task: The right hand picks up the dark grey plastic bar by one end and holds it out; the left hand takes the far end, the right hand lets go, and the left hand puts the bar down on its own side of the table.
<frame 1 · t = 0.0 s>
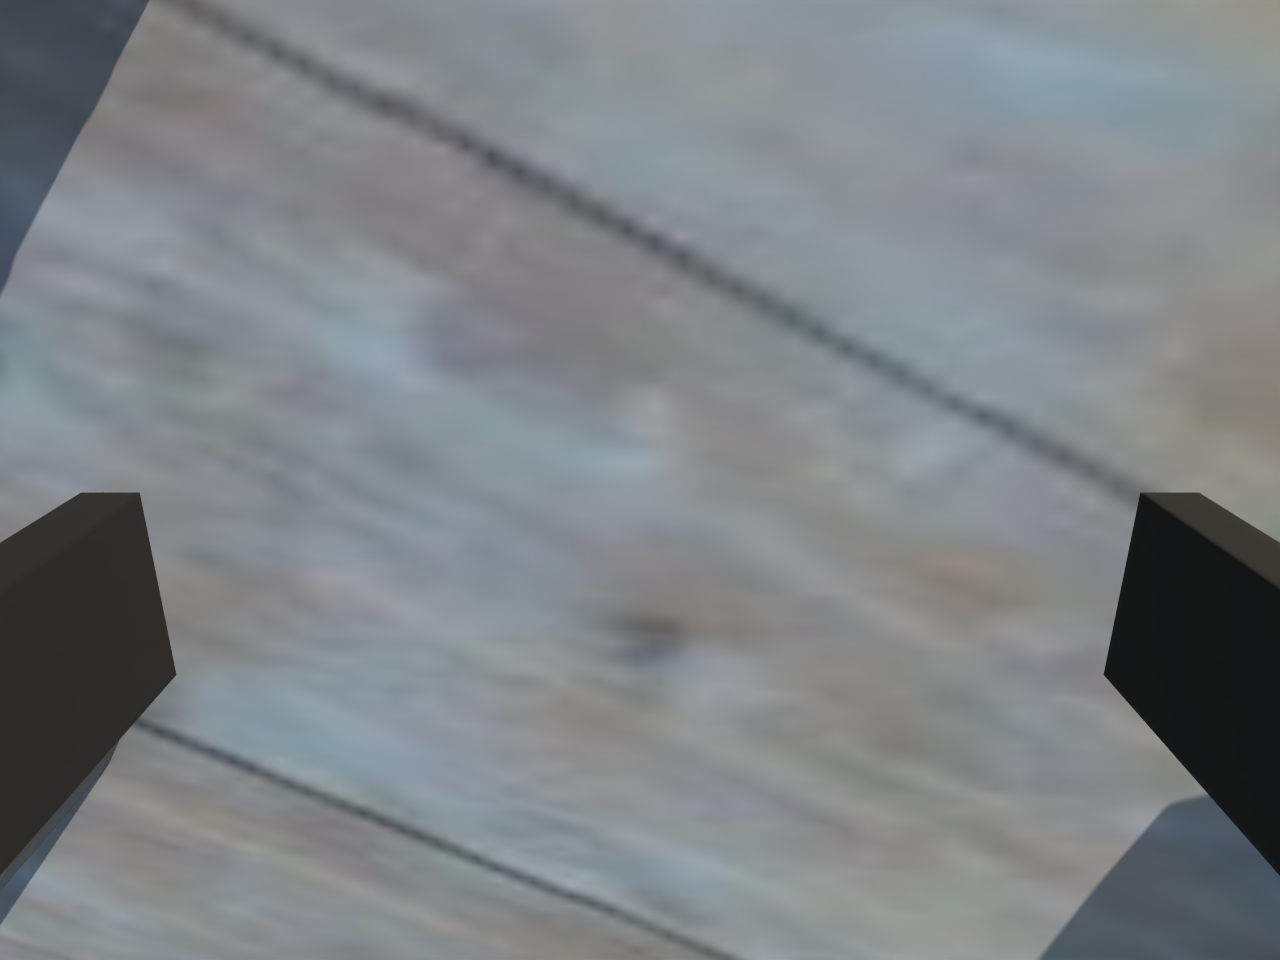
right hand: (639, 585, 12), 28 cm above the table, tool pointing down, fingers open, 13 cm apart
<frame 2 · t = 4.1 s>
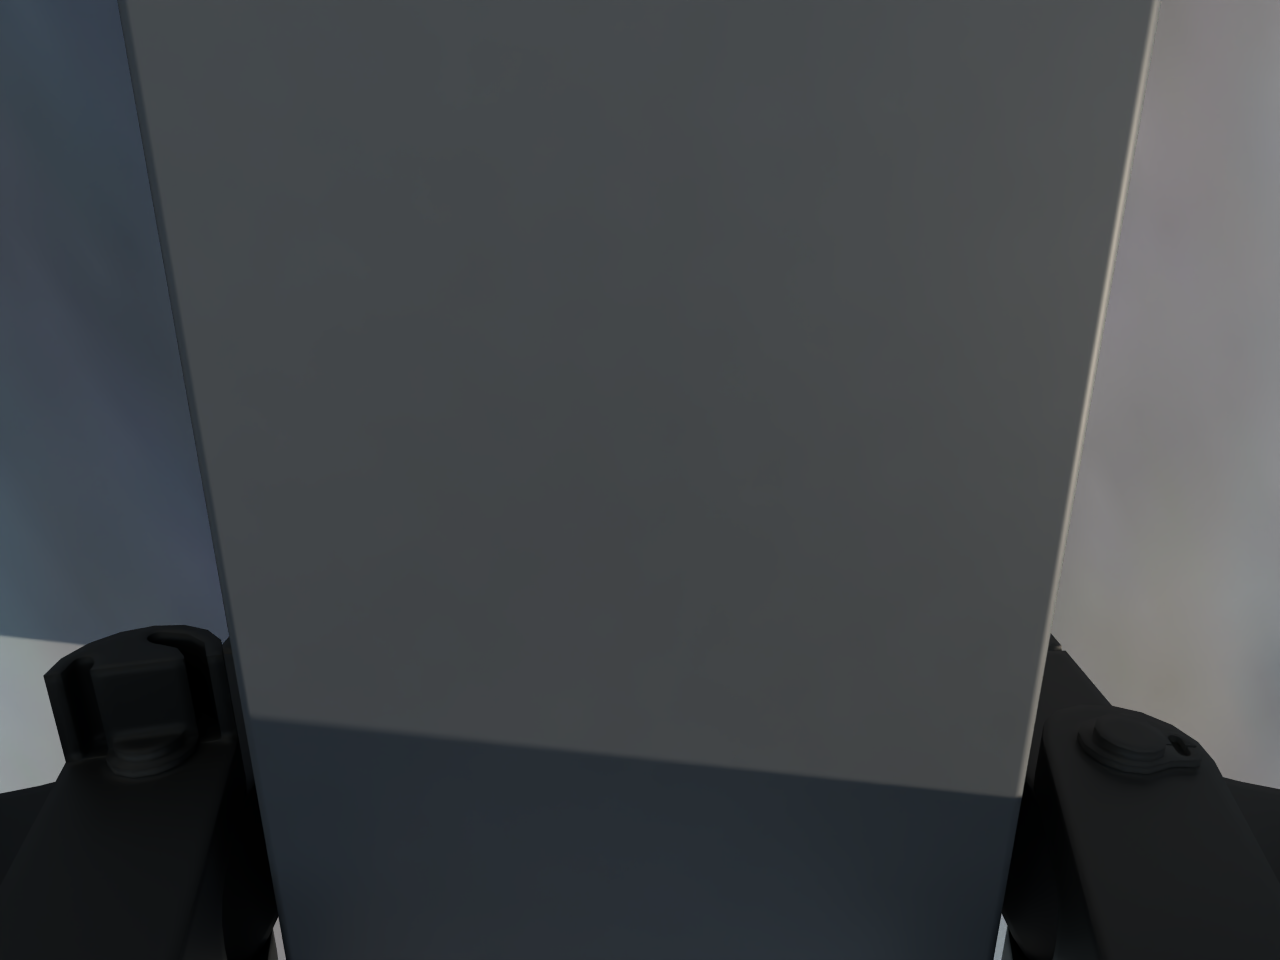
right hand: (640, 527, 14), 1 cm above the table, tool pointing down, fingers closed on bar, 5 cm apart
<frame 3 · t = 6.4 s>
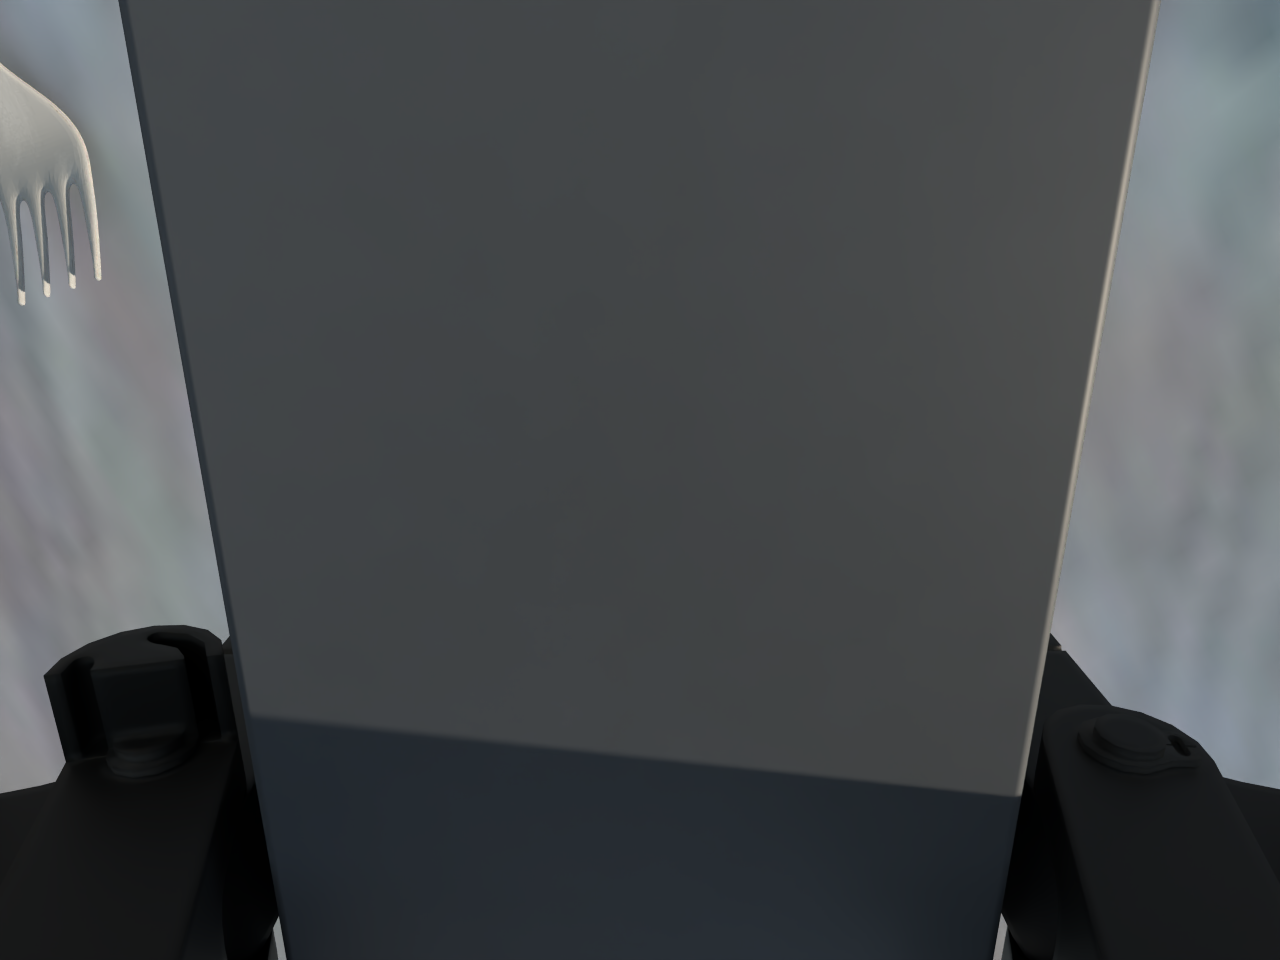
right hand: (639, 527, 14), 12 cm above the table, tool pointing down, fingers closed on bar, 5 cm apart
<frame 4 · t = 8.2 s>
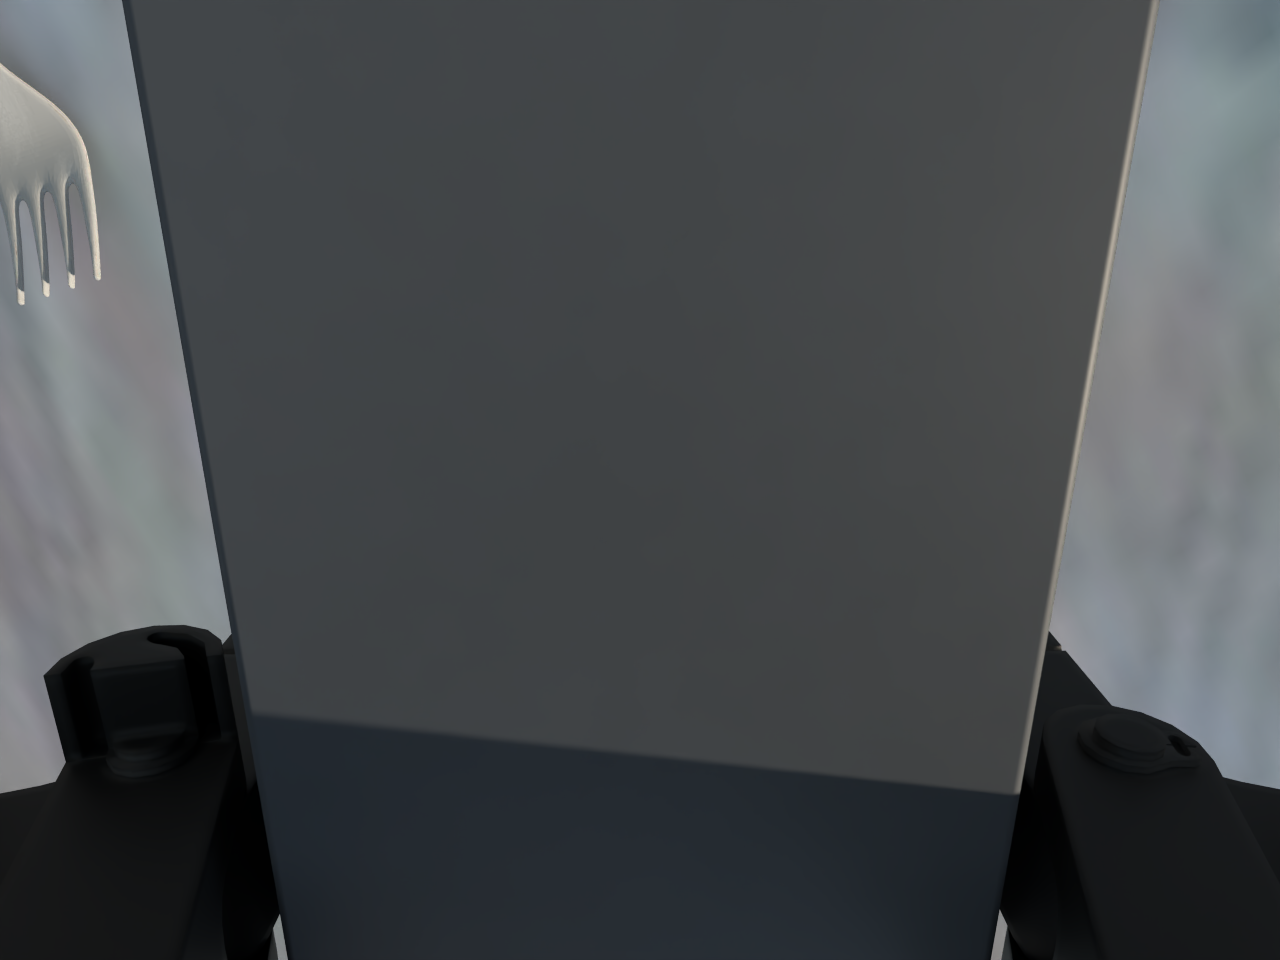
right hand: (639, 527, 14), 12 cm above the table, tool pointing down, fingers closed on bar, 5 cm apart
when the right hand's fingers open (12 cm above the table, at t = 9.0 s): bar stays where it is, held by the left hand.
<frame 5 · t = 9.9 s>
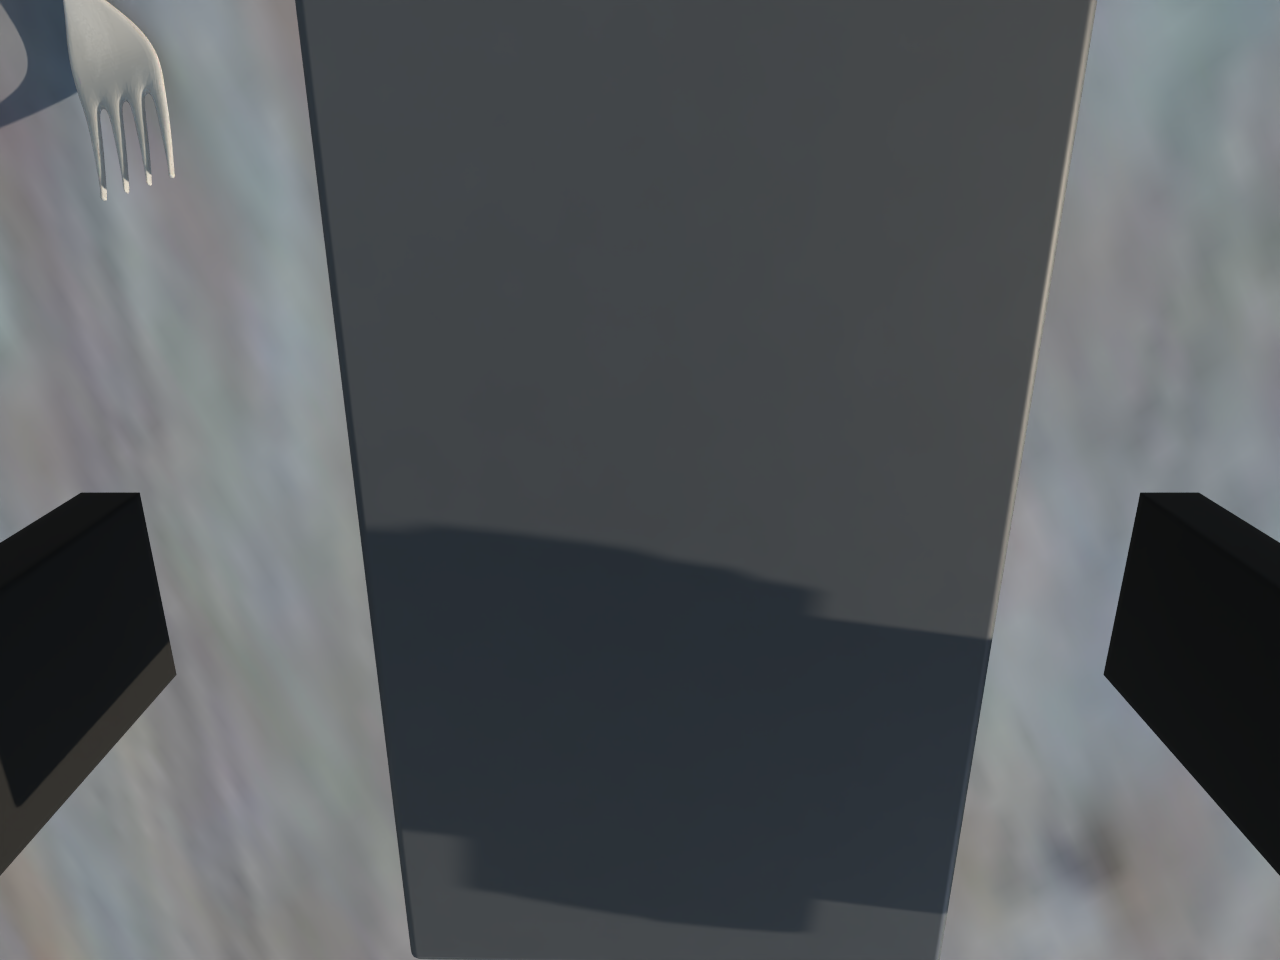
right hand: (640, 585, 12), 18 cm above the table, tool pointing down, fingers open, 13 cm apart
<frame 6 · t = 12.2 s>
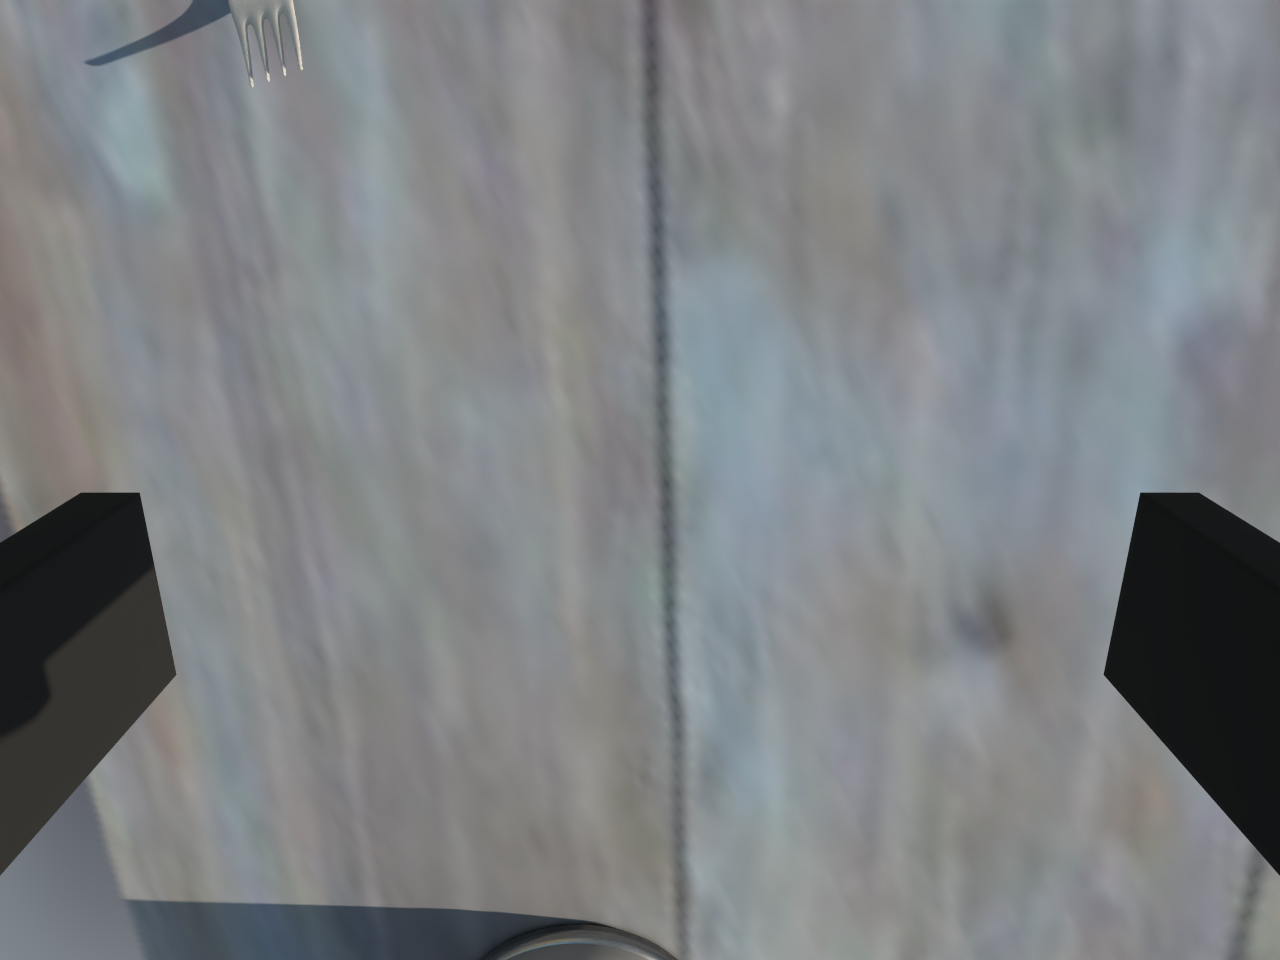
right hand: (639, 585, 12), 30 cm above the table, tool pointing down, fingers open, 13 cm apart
when the left hand's fingers open (4 cm above the table, at t = 13.4 s): bar stays where it is, on the table.
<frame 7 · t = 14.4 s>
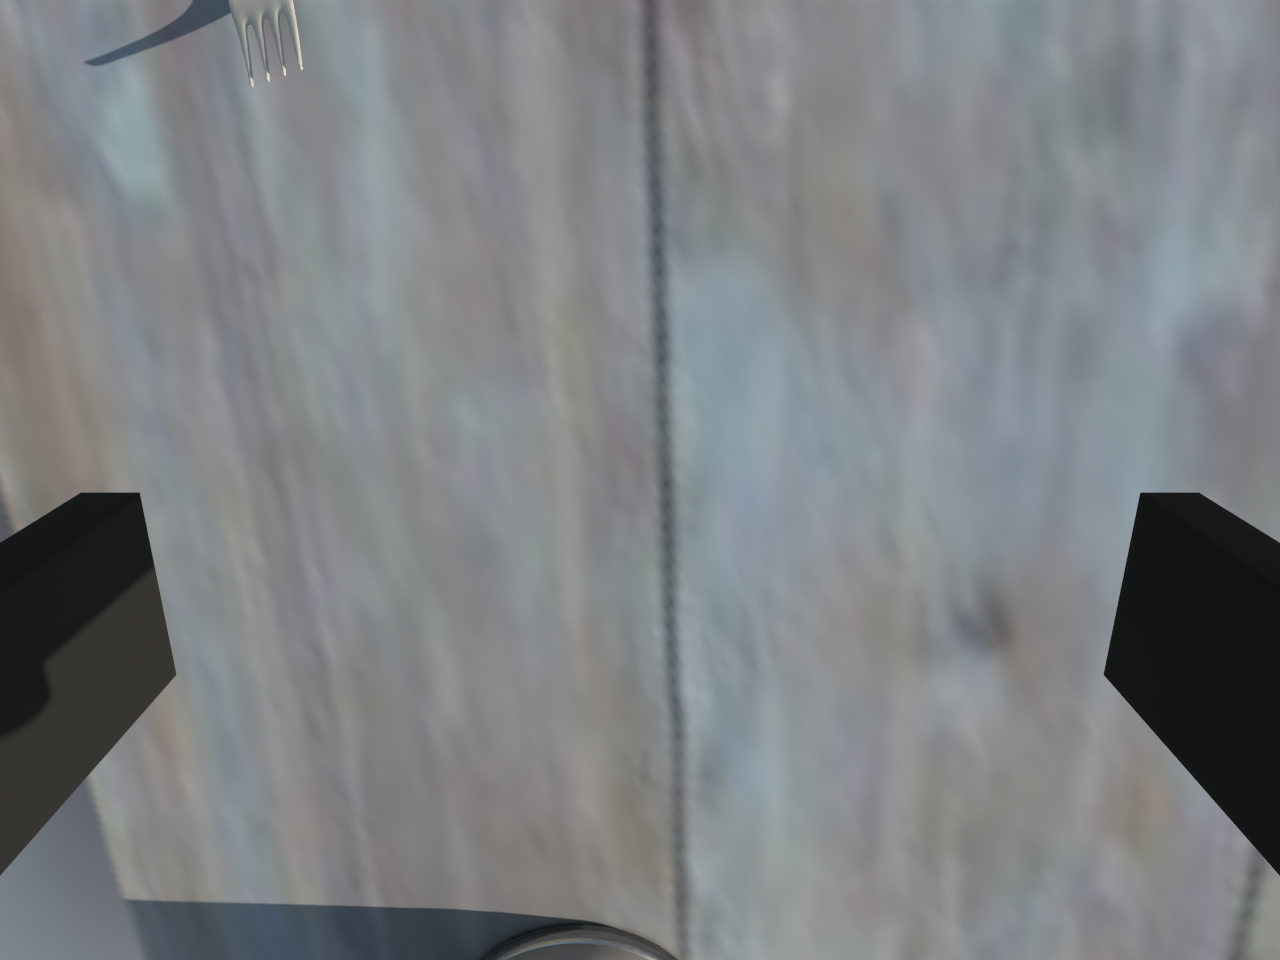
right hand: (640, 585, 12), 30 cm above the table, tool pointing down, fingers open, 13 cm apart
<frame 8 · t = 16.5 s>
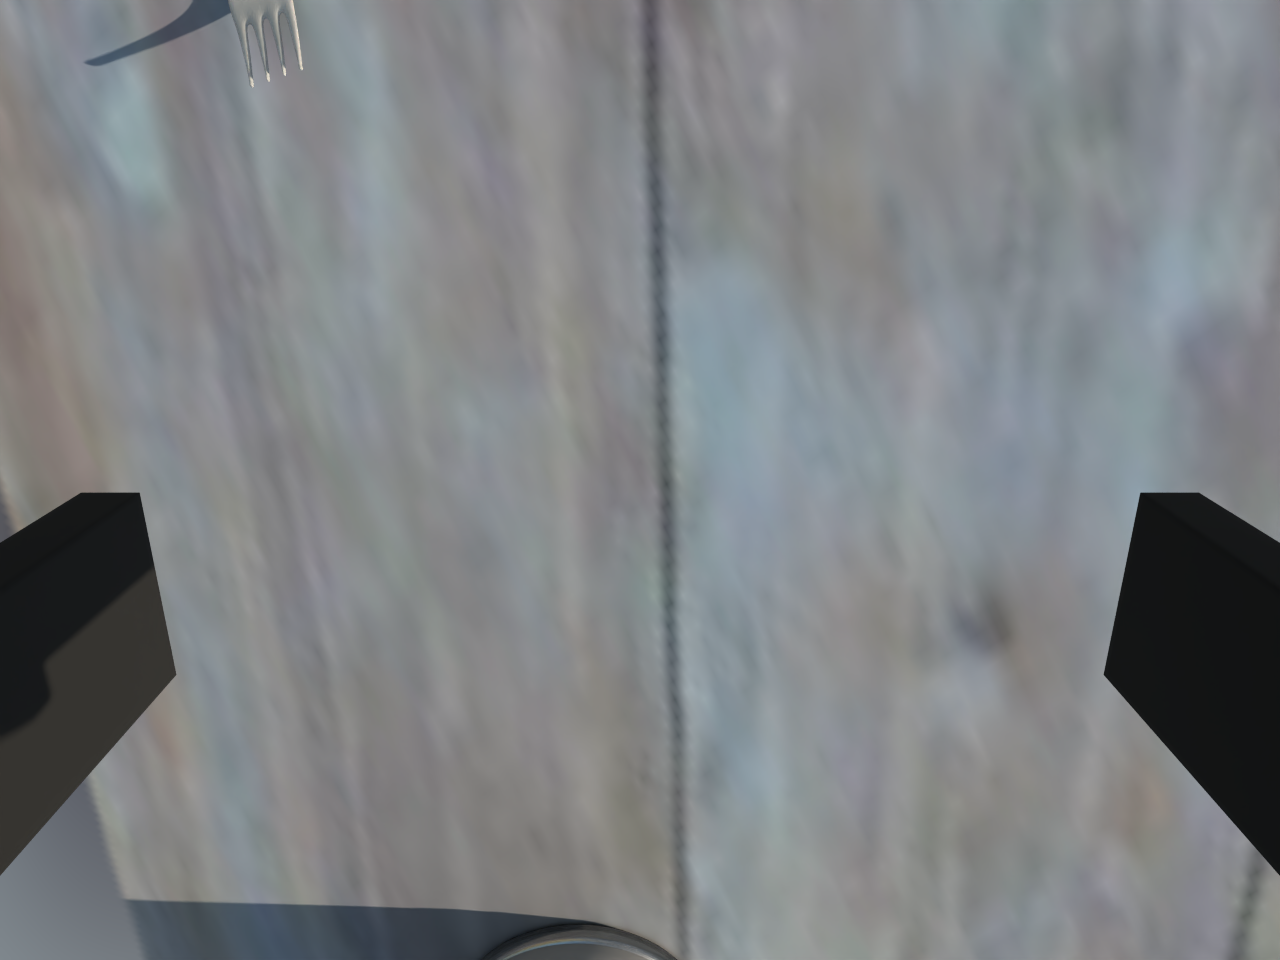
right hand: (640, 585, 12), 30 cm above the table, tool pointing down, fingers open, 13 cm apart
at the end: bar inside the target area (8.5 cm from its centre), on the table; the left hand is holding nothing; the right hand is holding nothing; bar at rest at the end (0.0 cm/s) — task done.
